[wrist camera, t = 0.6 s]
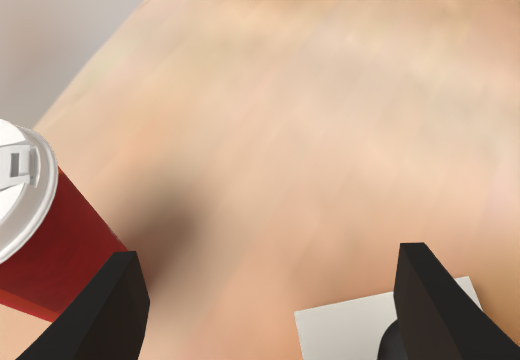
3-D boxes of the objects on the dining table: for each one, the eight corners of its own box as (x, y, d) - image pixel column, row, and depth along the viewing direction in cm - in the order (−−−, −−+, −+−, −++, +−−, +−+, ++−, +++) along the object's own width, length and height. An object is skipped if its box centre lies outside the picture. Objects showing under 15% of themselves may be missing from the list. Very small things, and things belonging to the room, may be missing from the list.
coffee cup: (152, 223, 36) (41, 87, 23) (167, 332, 31) (40, 239, 19) (44, 254, 36) (-125, 137, 23) (44, 368, 32) (-165, 299, 19)
